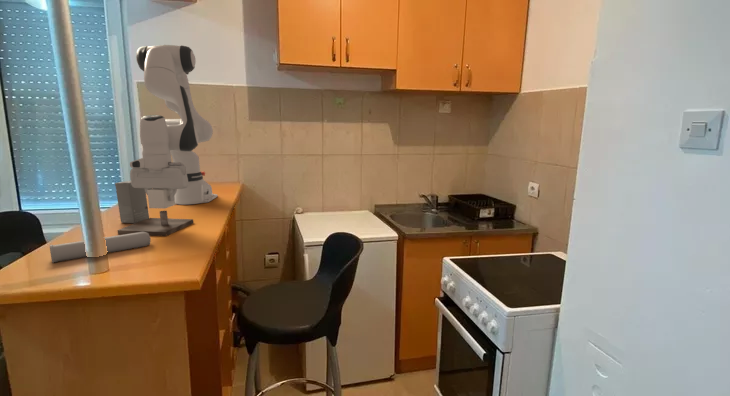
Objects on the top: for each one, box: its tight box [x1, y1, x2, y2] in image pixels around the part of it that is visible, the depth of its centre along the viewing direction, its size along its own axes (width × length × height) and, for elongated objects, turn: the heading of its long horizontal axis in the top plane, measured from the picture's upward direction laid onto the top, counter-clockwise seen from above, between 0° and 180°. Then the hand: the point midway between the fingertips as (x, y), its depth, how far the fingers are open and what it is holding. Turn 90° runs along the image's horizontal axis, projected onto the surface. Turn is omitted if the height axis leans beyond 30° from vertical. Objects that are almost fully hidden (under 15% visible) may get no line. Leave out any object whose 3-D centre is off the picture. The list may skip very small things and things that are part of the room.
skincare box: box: [114, 180, 150, 224], centre depth 153 cm, size 8×7×16 cm
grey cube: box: [147, 188, 176, 210], centre depth 141 cm, size 6×6×6 cm
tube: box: [49, 232, 151, 264], centre depth 118 cm, size 5×5×25 cm
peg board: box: [117, 210, 194, 237], centre depth 143 cm, size 17×18×6 cm
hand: (161, 200), depth 141 cm, fingers closed on grey cube, 6 cm apart
